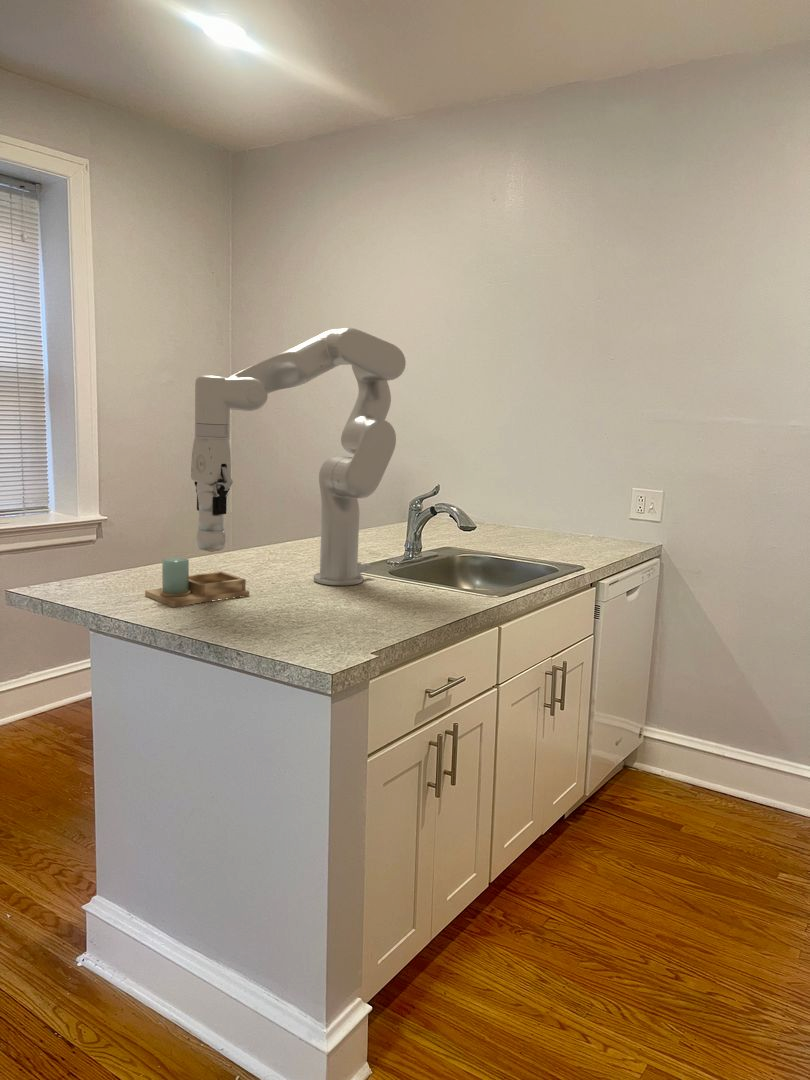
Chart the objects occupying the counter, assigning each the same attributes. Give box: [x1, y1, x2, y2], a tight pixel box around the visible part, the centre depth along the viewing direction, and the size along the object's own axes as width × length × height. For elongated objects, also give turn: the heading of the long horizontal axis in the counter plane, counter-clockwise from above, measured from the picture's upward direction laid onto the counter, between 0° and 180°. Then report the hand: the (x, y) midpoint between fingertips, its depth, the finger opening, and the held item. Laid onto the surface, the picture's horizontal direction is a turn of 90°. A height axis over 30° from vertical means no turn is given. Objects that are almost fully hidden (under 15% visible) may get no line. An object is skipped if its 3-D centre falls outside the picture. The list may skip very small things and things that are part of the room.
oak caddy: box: [144, 570, 250, 608], centre depth 181 cm, size 19×13×4 cm
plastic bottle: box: [195, 481, 227, 553], centre depth 181 cm, size 6×7×20 cm
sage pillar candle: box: [161, 557, 190, 594], centre depth 177 cm, size 6×6×7 cm
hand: (211, 511), depth 181 cm, fingers closed on plastic bottle, 6 cm apart
